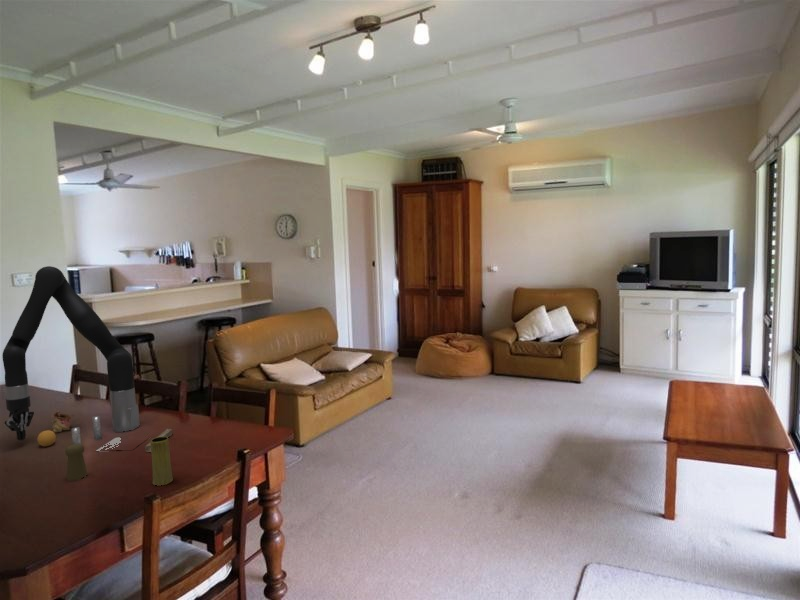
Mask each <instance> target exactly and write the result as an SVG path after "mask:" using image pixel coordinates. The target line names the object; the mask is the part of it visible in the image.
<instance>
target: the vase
mask: <svg viewBox="0 0 800 600" xmlns="http://www.w3.org/2000/svg"><path fill="white" fill-rule="evenodd" d="M150 442H151V454H150V455H151V464H152V465H151V468H152V481H151V482H152V485H153V486H155V485H157V486H156V487H162V486H167V485H169V484H171V483H172V482H173V481H174V478H173V473H172V472H173V471H172V470H173V469H172V463H171V453H170V442H169V438H168V437H166V436H161V437H158V436H156V437H153V438H151V440H150ZM161 485H162V486H161Z"/></svg>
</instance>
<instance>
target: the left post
mask: <svg viewBox="0 0 800 600" xmlns="http://www.w3.org/2000/svg"><path fill="white" fill-rule="evenodd" d="M70 429H71V430H70V431H71V439H72V445H73V444H82V440H81V428H80V426H75V427H71V428H70Z"/></svg>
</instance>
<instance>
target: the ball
mask: <svg viewBox="0 0 800 600" xmlns="http://www.w3.org/2000/svg"><path fill="white" fill-rule="evenodd" d="M36 439H37V440H36V441H37V444H39V445H40V446H41V447H49V446H52V445H53V444H54V443H55V441H56V439H57V436H56V433H55V432H53V430H50V429H47V430H43V431H41V432H40V433H39V434H38V435H37V438H36Z"/></svg>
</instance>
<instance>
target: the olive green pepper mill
mask: <svg viewBox="0 0 800 600" xmlns="http://www.w3.org/2000/svg"><path fill="white" fill-rule="evenodd" d="M84 452H85V447H84V445H83V444H82V443H81V444H73V443H72V444H70V445H69V446H67V447H66V449H65V455H66V456H67V469H66V481H68V482H74V481H75V480H76V481H79V480H78V479H80V480H82V479H81V478H83V477H85V476H86V475H87V474H88V475H89V473H88V470H87V466H86V463H85V459H84V456H83V455H84ZM85 478H86V477H85ZM83 479H84V478H83ZM76 481H75V482H76Z"/></svg>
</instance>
